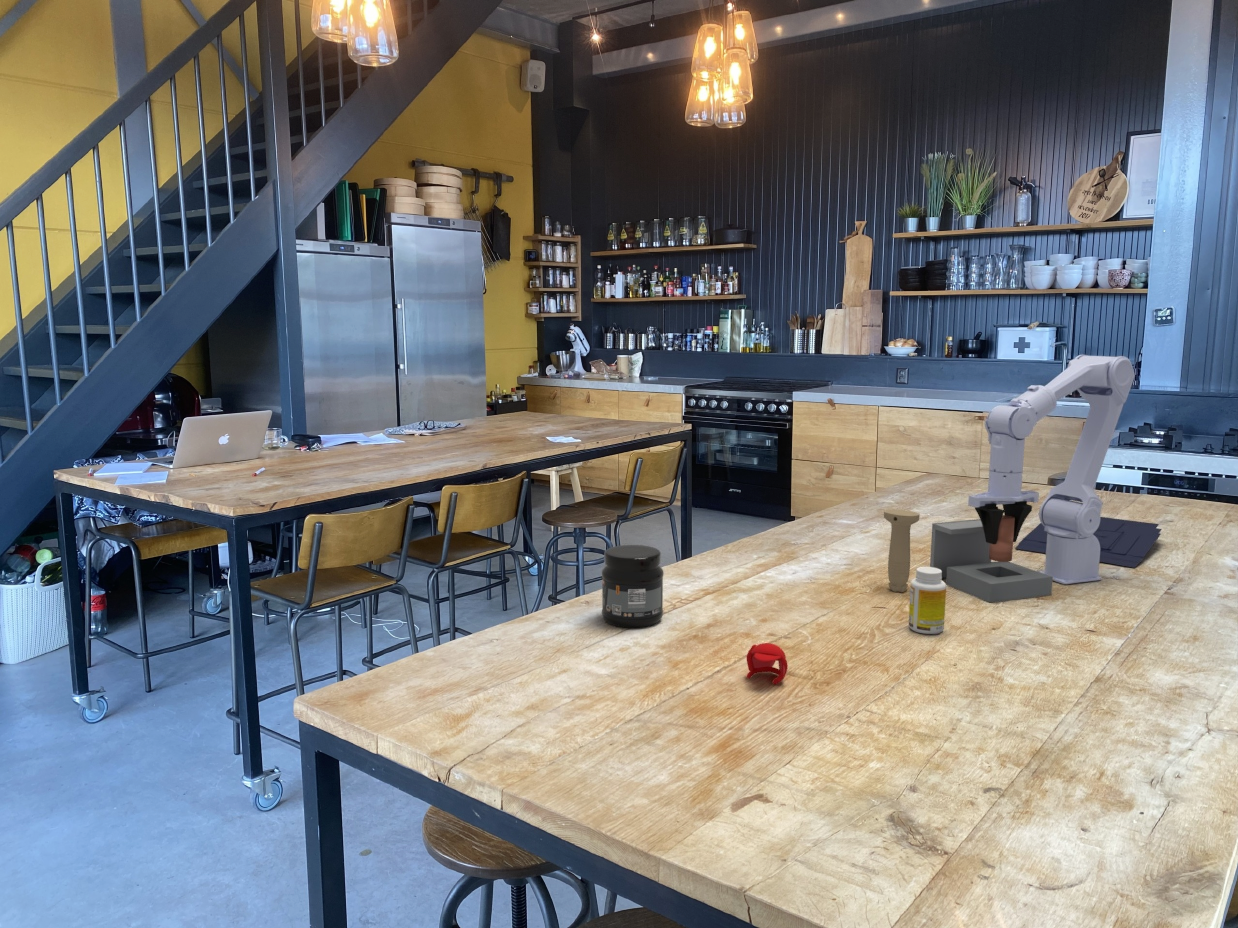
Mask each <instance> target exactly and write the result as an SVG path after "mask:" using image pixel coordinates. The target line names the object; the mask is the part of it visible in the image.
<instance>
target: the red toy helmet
mask: <svg viewBox="0 0 1238 928" xmlns="http://www.w3.org/2000/svg"><path fill="white" fill-rule="evenodd" d="M776 661H777V662H778V668H777V667H774V665H775V663H776ZM746 664H747V669H748V671H749V672H747V674H746V678H747V679H750V678H752V677H753V676H754V675H756V674H758V673H759V674H760V673H772V674H775V675H777V677H775V678H774V679H773V680H772V684H773V685H778V684H779V683H780V682H782V681H783V679H785V676H786V675H787V672H788V666H789V665H788V662H787V656H786V654H785V652H784V650H783V648H781V647H780V646H778V645H777V644H774V643H769V642H763V643H762V642H761V643H759V644H752V646H751V647H750V648H749V650H748V652H747V653H746Z"/></svg>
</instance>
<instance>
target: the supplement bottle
mask: <svg viewBox="0 0 1238 928" xmlns="http://www.w3.org/2000/svg"><path fill="white" fill-rule="evenodd" d="M942 579H943V578H942V571H941V570H940V569H938V568H934V567H930V566H921V567H917V568H916V571H915V578H913V579H912V580H911V581H910V588H909V589H910V590H909V592H910V593H909V609H908V627H909V628H910V629H911V630H912V631H913V632H915V633H919V634H923V635H924V634H925V635H937V634H940V633H942V632H943V631H944V629H945V617H946V598H947V597H946V596H947V585H946V582H944V581H943V580H942Z"/></svg>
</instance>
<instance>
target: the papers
mask: <svg viewBox="0 0 1238 928" xmlns="http://www.w3.org/2000/svg"><path fill="white" fill-rule="evenodd" d="M1159 525H1160V524H1159V523H1153V522H1146V521H1138V520H1137V521H1136V520H1131V519H1121V518H1114V517H1108V516H1107V517H1105V516H1100V524H1099V527H1098V528H1097V530H1096V531H1095V532H1094V533H1093V535H1094V536H1095V537H1096V538H1097V539H1098V541H1099V544H1100V559H1099V563H1106V564H1111V565H1118V566H1123V567H1129V568H1133V569H1135V568H1136V567H1138V564H1139V563H1141V562H1142V561H1143V560H1144V558H1145V556H1146V555H1147V553H1148V552H1149V551H1150V549H1151V548H1152V547H1153V545H1154V544H1155V543H1156V541H1157V540H1158V539H1159V537H1160V536H1161V535H1162V533H1161V532H1162V528H1157V527H1158V526H1159ZM1044 529H1045V526H1043V525H1042V523H1041V522H1040V523H1039V524H1038V525H1037V526H1036V527H1035V528H1034V529H1032V530H1031V531H1030V532H1029V533H1028V534H1026V536H1024V537H1023V538H1022V540H1020V541H1019V542H1018V543H1017V546H1016V547H1014V549H1015V550H1022V551H1030V552H1037V553H1043V554H1046V546H1047V533H1048V532H1047V531H1044Z"/></svg>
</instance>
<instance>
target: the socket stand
mask: <svg viewBox="0 0 1238 928" xmlns="http://www.w3.org/2000/svg"><path fill="white" fill-rule="evenodd" d="M931 525H932V526H931V538H930V539H931V543H930V556H929V557H930V561H929V567H934V568H938V569H940V570H941V571H942V579H946V580H945V584H946V586H949V587H951V588H953V589H956V590H958V591H961V592H963V593H965V594H968V595H970V596H972V597H975V598H978V599H979V600H982V601H985V602H987V603H989V604H990V603H991V604H992V603H1000V602H1006V601H1007V602H1008V601H1015V600H1023V599H1032V598H1037V597H1046V596H1047V597H1048V596H1052V594H1053V593H1052V591H1053V577H1052V576H1049V575H1046V574H1043V573H1040V572H1037V571H1038V570H1034V569H1032V568H1029V567H1025V566H1023V565H1020V564H1017V563H1014V562H1011V561H1009V562H1000V561H992V560H991V559H989V548H990V543H987V542H986V539H985V534H984V529H983V526H982V522H981V520H980V518H976V519H967V520H965V519H964V520H955V521H944V522H935V523H934V522H932V524H931Z"/></svg>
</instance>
